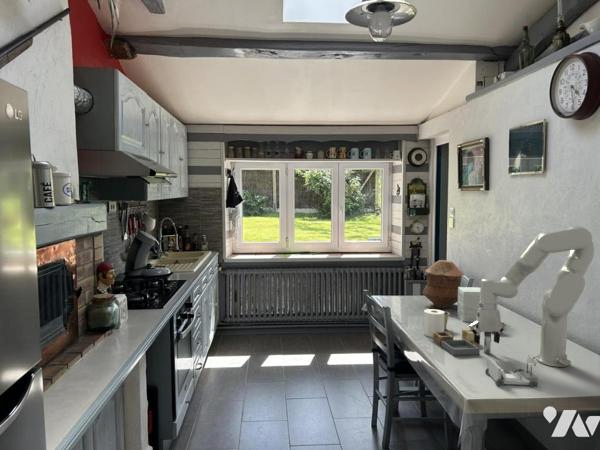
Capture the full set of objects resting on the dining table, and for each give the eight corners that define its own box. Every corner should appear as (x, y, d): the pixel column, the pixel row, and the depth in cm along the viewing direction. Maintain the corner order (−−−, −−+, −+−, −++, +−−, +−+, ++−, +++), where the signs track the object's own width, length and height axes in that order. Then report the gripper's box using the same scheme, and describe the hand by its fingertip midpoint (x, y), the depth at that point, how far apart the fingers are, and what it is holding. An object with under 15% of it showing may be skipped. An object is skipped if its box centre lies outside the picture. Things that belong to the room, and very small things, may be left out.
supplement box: (479, 316, 262) (480, 287, 261) (486, 322, 249) (487, 292, 248) (456, 315, 264) (457, 286, 263) (462, 321, 251) (463, 291, 250)
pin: (492, 354, 200) (492, 332, 199) (486, 354, 199) (486, 332, 198) (488, 351, 203) (488, 330, 202) (482, 352, 202) (482, 330, 201)
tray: (479, 354, 198) (479, 348, 198) (453, 356, 196) (454, 349, 196) (465, 345, 211) (465, 339, 210) (440, 346, 209) (441, 340, 208)
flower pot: (429, 329, 236) (429, 313, 235) (432, 324, 244) (433, 309, 243) (447, 332, 231) (448, 316, 231) (450, 327, 240) (450, 311, 239)
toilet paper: (428, 330, 235) (428, 307, 234) (447, 334, 228) (447, 311, 227) (420, 334, 227) (420, 311, 226) (439, 338, 220) (440, 315, 220)
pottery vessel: (414, 303, 291) (415, 259, 289) (443, 300, 302) (444, 256, 300) (441, 313, 268) (443, 264, 266) (473, 309, 278) (474, 262, 276)
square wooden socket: (453, 345, 211) (453, 336, 210) (439, 346, 209) (439, 337, 209) (446, 340, 217) (446, 331, 217) (432, 341, 216) (433, 332, 216)
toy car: (531, 352, 176) (546, 363, 164) (530, 376, 176) (545, 388, 165) (485, 351, 177) (496, 361, 165) (484, 374, 178) (496, 387, 166)
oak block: (479, 344, 212) (480, 332, 212) (468, 345, 211) (468, 333, 211) (473, 340, 218) (473, 328, 218) (461, 341, 217) (462, 329, 217)
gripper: (475, 308, 194) (473, 346, 196) (511, 307, 197) (509, 344, 198) (466, 304, 202) (464, 340, 203) (501, 303, 204) (499, 339, 206)
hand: (486, 342), depth 201 cm, fingers open, 9 cm apart
